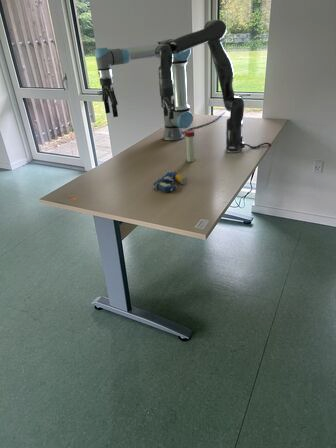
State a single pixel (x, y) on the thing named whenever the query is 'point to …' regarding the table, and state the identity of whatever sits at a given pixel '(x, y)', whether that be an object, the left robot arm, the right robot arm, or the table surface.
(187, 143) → the bottle
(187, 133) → the lid
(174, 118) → the left robot arm
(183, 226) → the table surface
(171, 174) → the spray gun
